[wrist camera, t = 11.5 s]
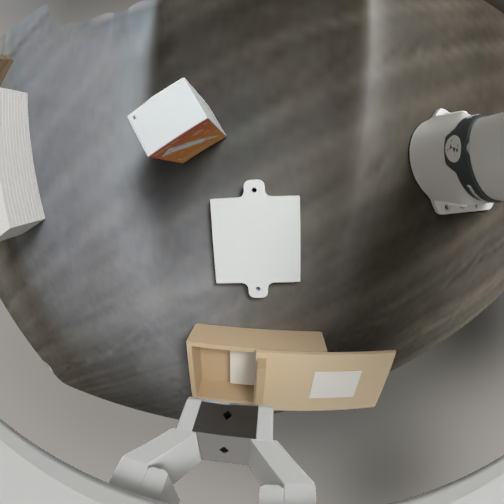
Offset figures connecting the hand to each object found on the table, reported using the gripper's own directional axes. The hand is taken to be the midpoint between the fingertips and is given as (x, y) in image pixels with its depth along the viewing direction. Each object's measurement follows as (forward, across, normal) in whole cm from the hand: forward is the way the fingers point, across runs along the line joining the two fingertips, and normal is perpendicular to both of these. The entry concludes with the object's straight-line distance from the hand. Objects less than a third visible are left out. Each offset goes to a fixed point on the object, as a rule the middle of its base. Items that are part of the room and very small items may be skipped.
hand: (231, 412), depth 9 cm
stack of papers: (+35, +55, -15) cm, 67 cm away
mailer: (+34, 0, +23) cm, 41 cm away
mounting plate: (+35, +1, +1) cm, 35 cm away
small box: (+34, +11, -15) cm, 39 cm away
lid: (+28, -12, +23) cm, 38 cm away
